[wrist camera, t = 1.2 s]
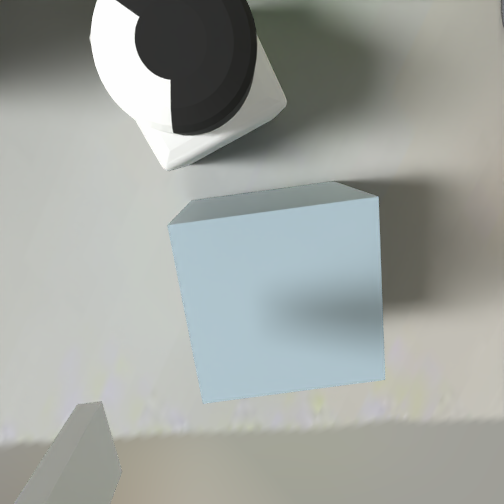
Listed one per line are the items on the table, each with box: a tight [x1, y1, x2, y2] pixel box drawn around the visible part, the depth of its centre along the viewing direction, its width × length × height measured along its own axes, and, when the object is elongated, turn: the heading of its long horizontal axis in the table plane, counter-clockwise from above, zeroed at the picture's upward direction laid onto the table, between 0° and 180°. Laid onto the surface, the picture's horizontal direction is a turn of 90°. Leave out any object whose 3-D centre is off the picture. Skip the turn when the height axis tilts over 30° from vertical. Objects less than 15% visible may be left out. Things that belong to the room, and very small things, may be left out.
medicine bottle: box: [89, 0, 287, 171], centre depth 18 cm, size 7×7×12 cm
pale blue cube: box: [168, 181, 385, 404], centre depth 23 cm, size 10×10×9 cm
